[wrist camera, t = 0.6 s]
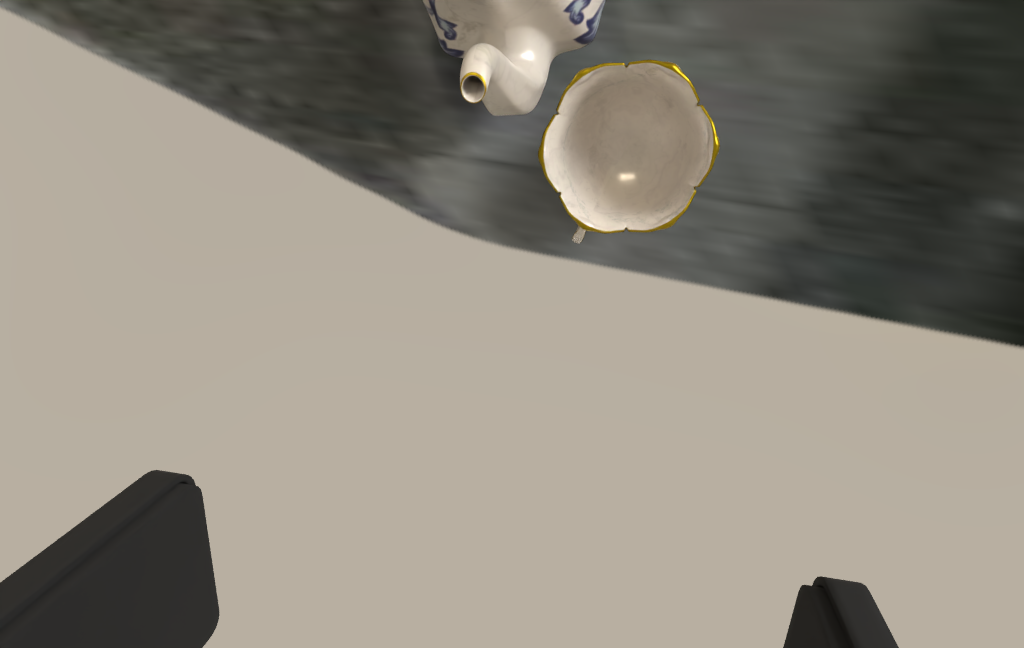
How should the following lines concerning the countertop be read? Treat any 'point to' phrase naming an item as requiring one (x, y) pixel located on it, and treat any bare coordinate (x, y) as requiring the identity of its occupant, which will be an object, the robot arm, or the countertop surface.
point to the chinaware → (586, 110)
